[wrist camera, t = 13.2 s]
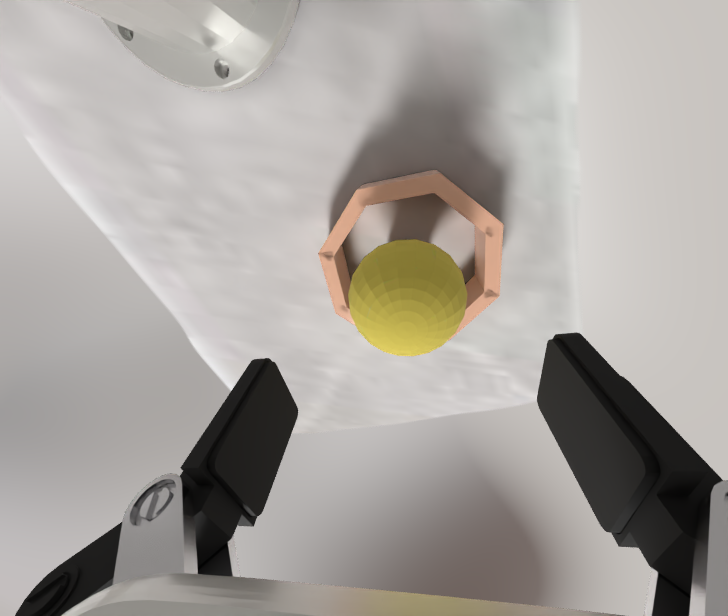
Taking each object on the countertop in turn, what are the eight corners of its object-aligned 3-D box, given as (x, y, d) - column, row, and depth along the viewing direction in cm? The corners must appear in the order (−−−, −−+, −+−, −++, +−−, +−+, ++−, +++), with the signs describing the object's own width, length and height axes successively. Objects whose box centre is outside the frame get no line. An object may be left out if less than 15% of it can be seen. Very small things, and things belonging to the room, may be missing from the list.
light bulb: (354, 224, 20) (319, 278, 12) (445, 205, 19) (478, 251, 10) (373, 300, 24) (355, 386, 15) (452, 289, 22) (482, 377, 14)
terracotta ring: (316, 194, 20) (302, 200, 17) (491, 157, 17) (507, 159, 15) (351, 328, 25) (345, 348, 23) (486, 315, 23) (497, 336, 20)
